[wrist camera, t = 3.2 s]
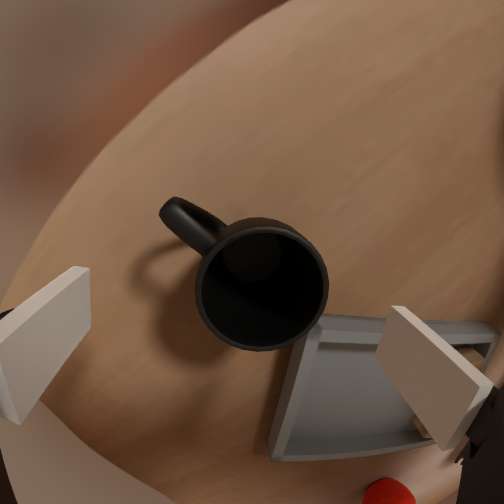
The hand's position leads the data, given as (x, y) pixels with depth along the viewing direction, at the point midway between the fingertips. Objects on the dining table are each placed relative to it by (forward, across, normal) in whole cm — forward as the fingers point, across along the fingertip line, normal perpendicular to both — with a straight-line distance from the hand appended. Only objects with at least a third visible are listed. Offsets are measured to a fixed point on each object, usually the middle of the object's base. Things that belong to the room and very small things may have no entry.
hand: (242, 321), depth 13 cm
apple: (+16, +29, -38) cm, 50 cm away
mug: (+16, 0, 0) cm, 16 cm away
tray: (+16, +20, -15) cm, 30 cm away
